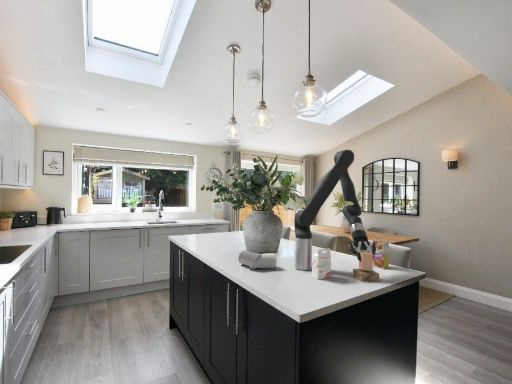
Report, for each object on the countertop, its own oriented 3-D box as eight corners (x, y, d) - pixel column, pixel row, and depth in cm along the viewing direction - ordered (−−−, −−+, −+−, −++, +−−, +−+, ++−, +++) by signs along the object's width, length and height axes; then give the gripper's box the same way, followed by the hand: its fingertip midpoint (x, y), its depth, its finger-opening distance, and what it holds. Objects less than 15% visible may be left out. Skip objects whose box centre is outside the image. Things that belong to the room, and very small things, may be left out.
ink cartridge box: (324, 274, 137) (324, 246, 137) (331, 277, 132) (331, 248, 133) (311, 276, 133) (311, 247, 133) (318, 279, 128) (318, 249, 129)
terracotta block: (362, 269, 129) (362, 253, 129) (358, 267, 134) (358, 251, 134) (372, 270, 129) (372, 253, 129) (368, 267, 134) (368, 251, 134)
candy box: (372, 265, 158) (372, 239, 158) (377, 264, 159) (377, 239, 159) (383, 269, 149) (383, 242, 150) (389, 268, 151) (389, 242, 151)
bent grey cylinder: (240, 270, 140) (277, 269, 143) (240, 249, 142) (276, 249, 145) (237, 268, 156) (270, 267, 160) (237, 250, 159) (269, 250, 162)
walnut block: (361, 282, 126) (361, 273, 126) (352, 276, 135) (352, 268, 135) (379, 281, 127) (379, 273, 127) (369, 276, 136) (369, 268, 136)
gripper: (346, 228, 141) (353, 256, 128) (373, 229, 140) (383, 257, 128) (343, 237, 146) (350, 264, 134) (370, 237, 145) (378, 265, 133)
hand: (366, 260), depth 131 cm, fingers closed on terracotta block, 5 cm apart
